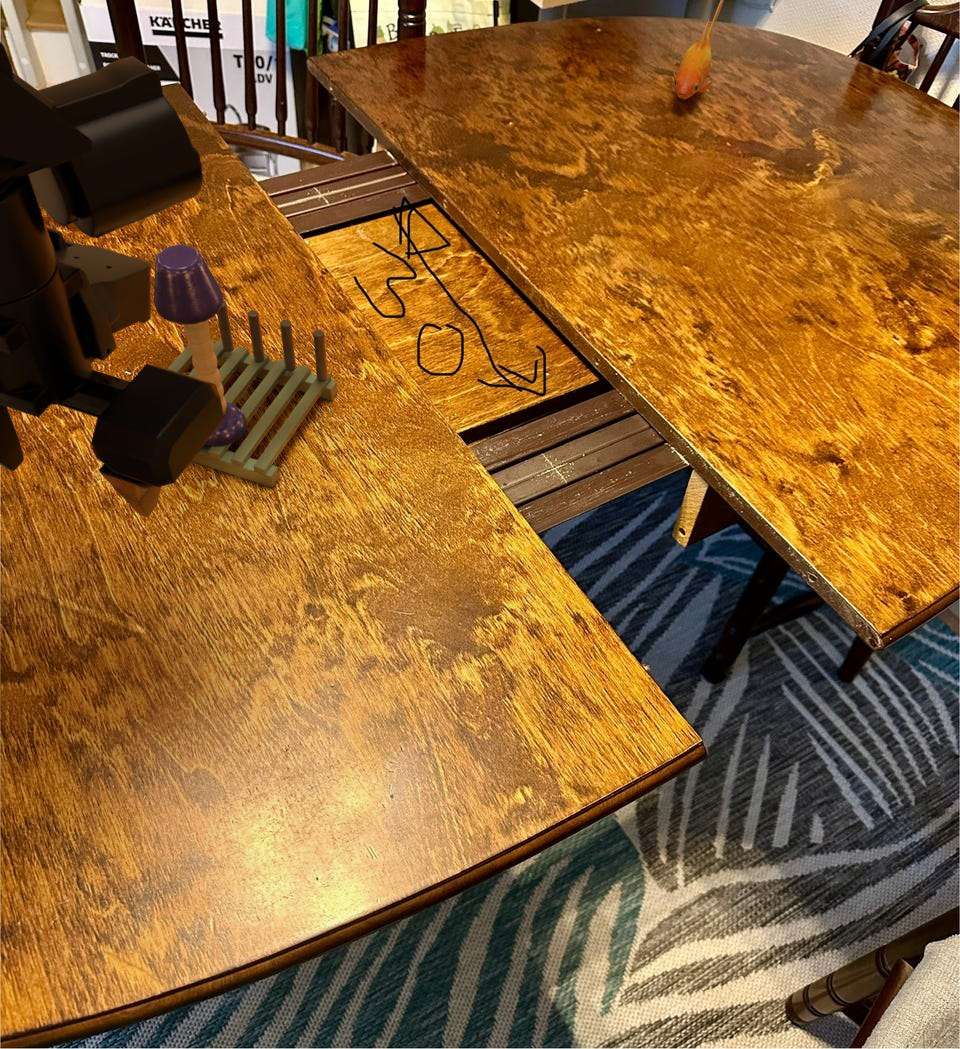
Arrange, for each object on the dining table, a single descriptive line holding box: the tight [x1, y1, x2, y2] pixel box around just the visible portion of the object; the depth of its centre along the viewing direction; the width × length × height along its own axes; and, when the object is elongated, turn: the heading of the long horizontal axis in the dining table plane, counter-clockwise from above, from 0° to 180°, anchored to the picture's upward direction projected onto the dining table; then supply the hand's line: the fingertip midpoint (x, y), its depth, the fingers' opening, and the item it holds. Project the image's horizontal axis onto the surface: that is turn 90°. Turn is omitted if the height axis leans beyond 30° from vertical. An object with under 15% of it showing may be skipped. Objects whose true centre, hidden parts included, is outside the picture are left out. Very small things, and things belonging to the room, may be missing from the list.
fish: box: [672, 0, 725, 100], centre depth 119 cm, size 22×6×10 cm, turn 159°
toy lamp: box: [153, 244, 248, 446], centre depth 66 cm, size 5×5×17 cm
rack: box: [166, 300, 339, 489], centre depth 74 cm, size 14×12×7 cm
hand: (82, 487), depth 54 cm, fingers open, 9 cm apart
